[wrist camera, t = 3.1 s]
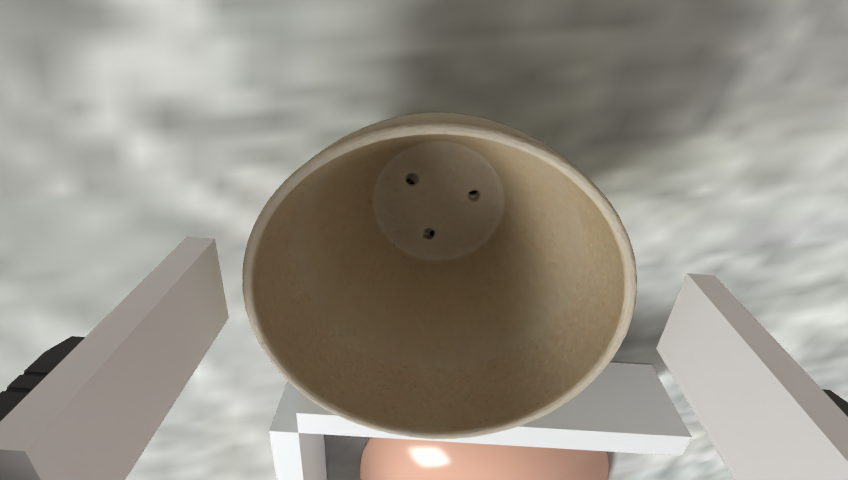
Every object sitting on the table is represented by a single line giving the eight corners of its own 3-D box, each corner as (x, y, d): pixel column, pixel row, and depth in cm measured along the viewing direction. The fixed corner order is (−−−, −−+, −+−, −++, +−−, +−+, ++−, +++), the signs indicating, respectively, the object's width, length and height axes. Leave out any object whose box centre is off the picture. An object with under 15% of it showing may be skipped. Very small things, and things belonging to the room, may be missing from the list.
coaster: (360, 378, 23) (359, 384, 23) (638, 395, 23) (641, 401, 23) (361, 532, 30) (360, 538, 30) (574, 544, 30) (576, 551, 30)
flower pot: (393, 1, 15) (362, 18, 8) (621, 166, 17) (727, 273, 11) (267, 229, 19) (184, 354, 13) (465, 335, 21) (477, 481, 15)
